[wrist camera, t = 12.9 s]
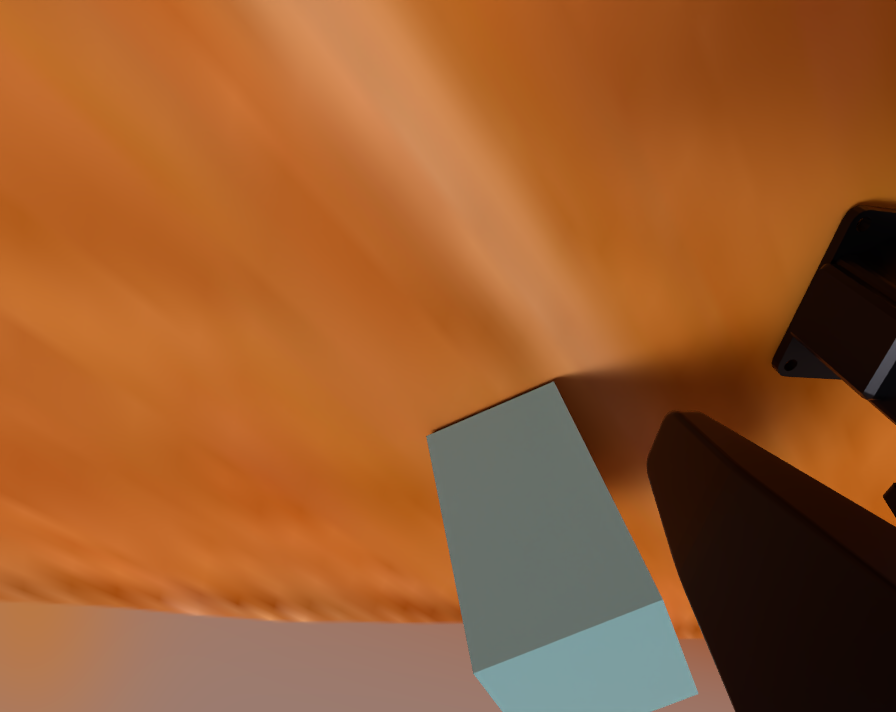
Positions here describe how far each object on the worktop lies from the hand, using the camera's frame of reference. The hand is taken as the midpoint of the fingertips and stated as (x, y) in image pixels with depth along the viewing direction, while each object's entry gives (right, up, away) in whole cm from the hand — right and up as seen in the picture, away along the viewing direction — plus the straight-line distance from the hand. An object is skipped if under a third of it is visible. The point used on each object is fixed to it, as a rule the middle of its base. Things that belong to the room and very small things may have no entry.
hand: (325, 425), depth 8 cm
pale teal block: (+4, -3, +17) cm, 18 cm away
